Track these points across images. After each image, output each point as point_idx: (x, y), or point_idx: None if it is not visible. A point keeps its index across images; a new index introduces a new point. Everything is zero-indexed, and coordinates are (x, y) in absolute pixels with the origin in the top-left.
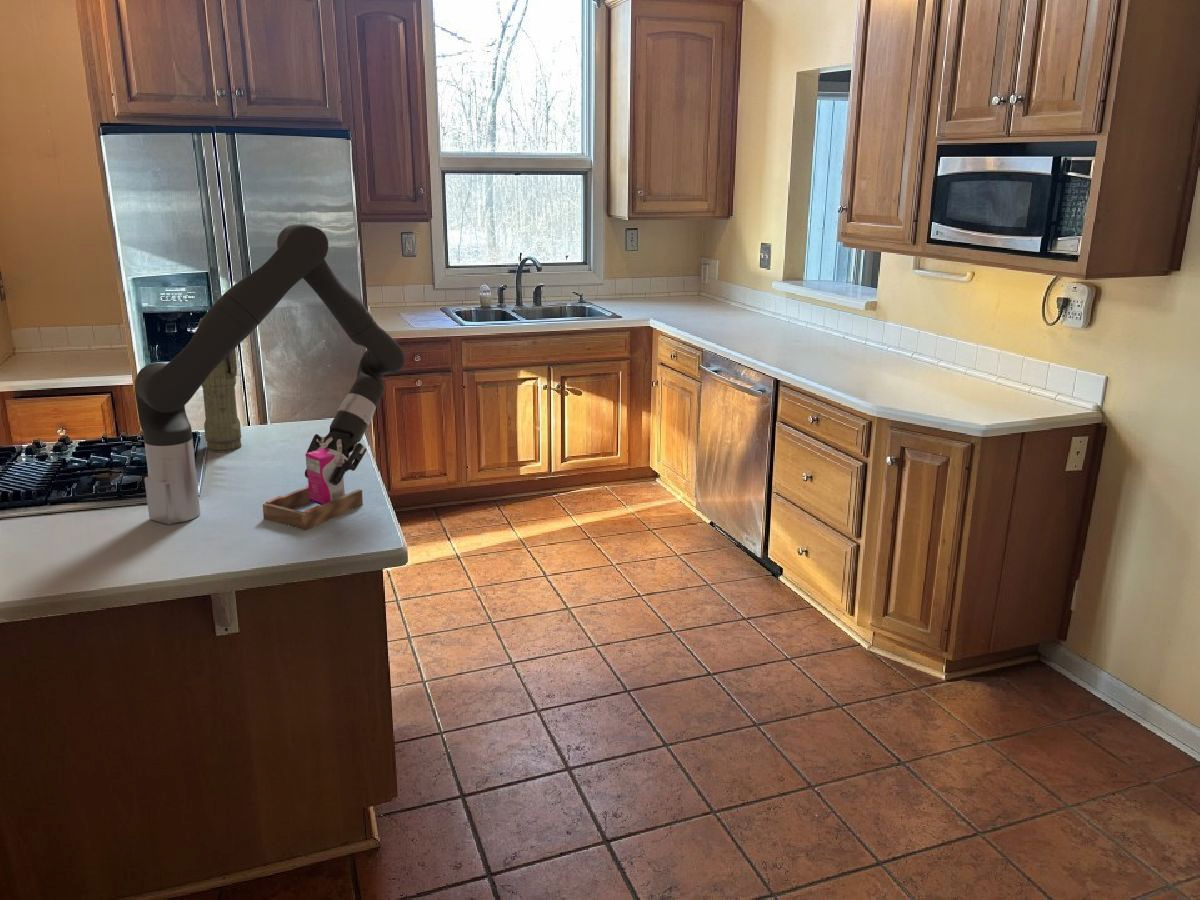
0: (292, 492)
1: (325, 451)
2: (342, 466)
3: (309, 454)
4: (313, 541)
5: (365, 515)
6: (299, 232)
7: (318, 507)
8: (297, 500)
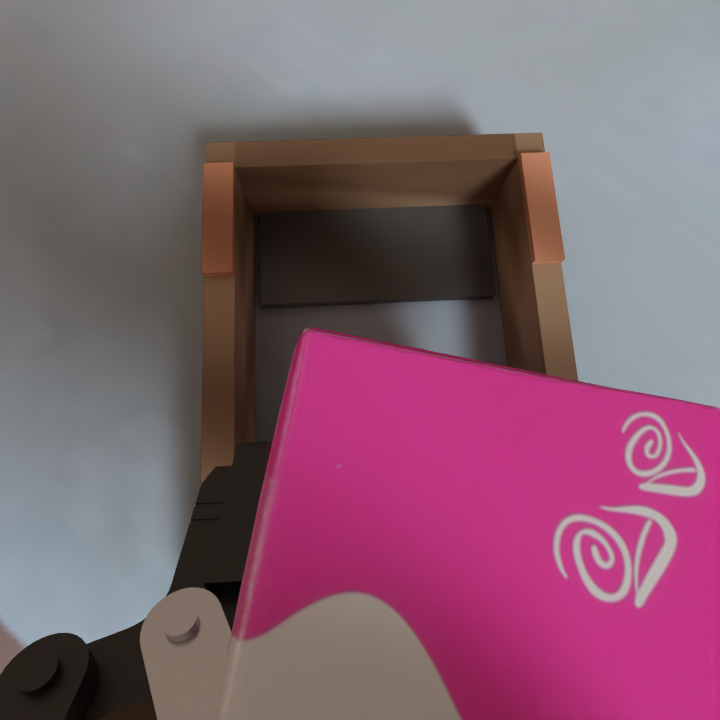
0: (570, 367)
1: (508, 681)
2: (156, 617)
3: (608, 387)
4: (107, 127)
5: (93, 524)
6: None
7: (203, 247)
8: None
